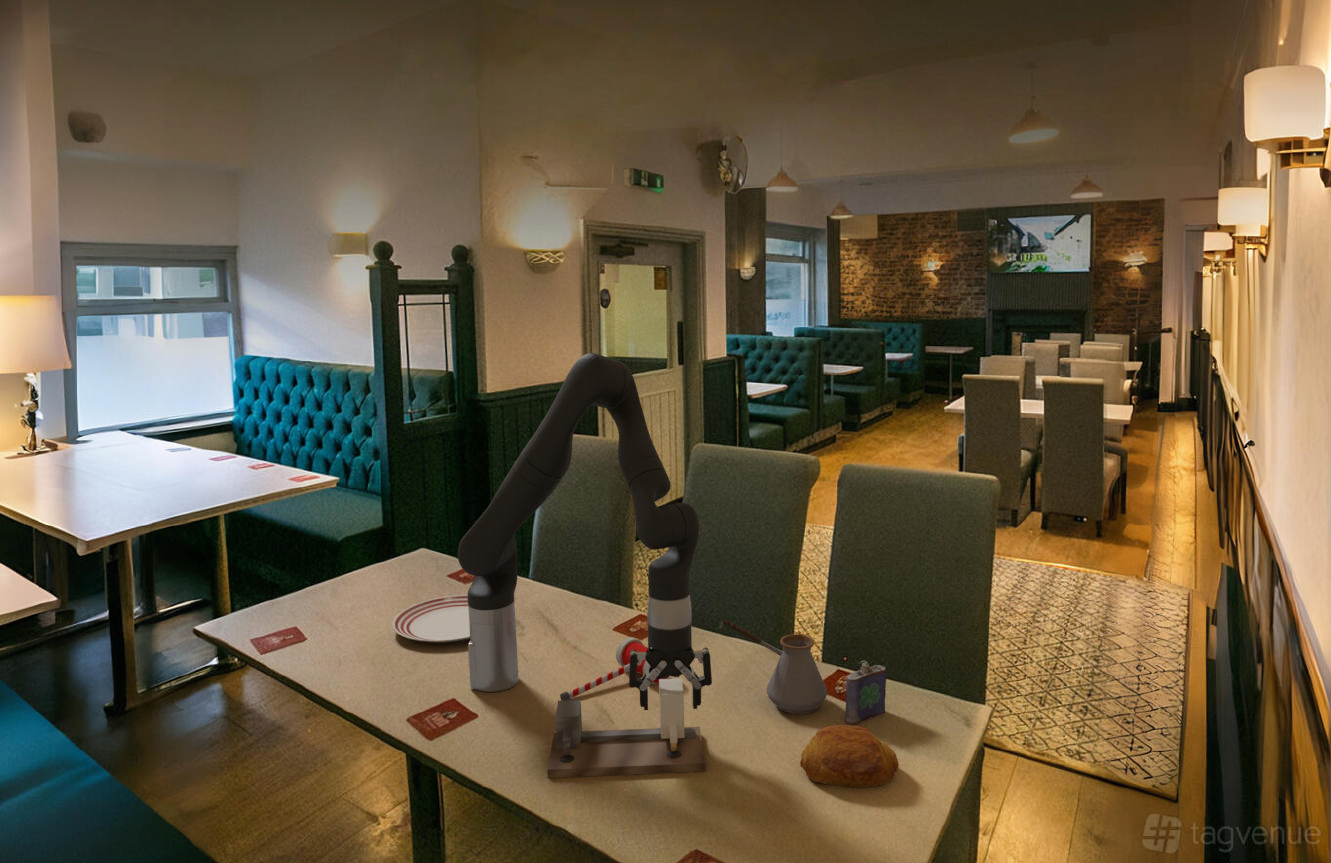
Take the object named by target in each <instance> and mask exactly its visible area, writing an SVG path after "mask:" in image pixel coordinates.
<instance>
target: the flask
mask: <svg viewBox="0 0 1331 863" xmlns="http://www.w3.org/2000/svg"><path fill="white" fill-rule="evenodd" d="M858 664H859V665H860V664H861V667H860V669H858V670H856V671H854V672H852V673H850V674H848V675H847V676H845V682H846V683H845V684H846V685H845V716H844V717H845V718H844V719H845V720H844V721H845V723H846V724H847V725H850V726H853V725H854V726H857V725H860V723H863V722H867V721H870V720H871V719H872V718H873V719H875V718H876V717H880V716H884V715H885V713H886V696H887V694H886V691H887V690H886V687H887V686H886V685H887V671H888V670H887V668H886V666H883V665H879V664H878V665H877V664H874V665H873V666H870V664H869V663H868V661H866V660H861V661H860V662H859V663H858Z"/></svg>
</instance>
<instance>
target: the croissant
mask: <svg viewBox="0 0 1331 863" xmlns="http://www.w3.org/2000/svg"><path fill="white" fill-rule="evenodd" d="M799 761H800V762H799V765H800V767H801V768H802V769H803V771H804V772H805V774H806V776H807V777H808V779H810V780H812V782H816V783H820V784H825V785H829V786H831V785H834V786H842V787H861V788H863V787H864V788H865V787H866V788H867V787H875V786H878V787H879V786H882V785H885V784H888V783H889V782H890V781H891V780H893V779H895V778H894V777H895V775H896V774H895V773H896V772H897V771H898V769H899V765H900V764H899V759H898V758H897V754H896V753H895V750H893V749H892V748H890V746H889V745H888V743H886V742H884V741H882V740H880V739H879V738H878V737H877V736H876V735H875V734H873V733H872V732H871V731H870V730H869V729H868V728H866V727H862V726H859V725H850V724H836V725H829V726H826V727H824V728H822V729H820V730H818V731H816V733H815V735H814V736H812V738H811V739H810V741H809V743H808V744H807V745H806V747H805V748H804V749H803V750H802V751H801V758H800V760H799Z"/></svg>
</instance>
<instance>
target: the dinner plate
mask: <svg viewBox="0 0 1331 863" xmlns="http://www.w3.org/2000/svg"><path fill="white" fill-rule="evenodd" d="M391 627H392V629H393V631H394V632H395V633H396V634H398V635H399V636H400V637H403V638H405V639H408V640H413V641H419V642H424V643H425V642H427V643H452V641H453V642H459V640H460V641H464V640H470V628H469V611H468V594H454V595H447V596H439V597H436V598H435V597H434V598H430V599H427V600H426V599H425V600H424V601H420V602H418V603H415V604H412V605H409V606H408V607H406V608H405V609H402V611H400V612H399V613H398V614H396V616H394V618H393V620H392V624H391Z"/></svg>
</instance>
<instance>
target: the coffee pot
mask: <svg viewBox="0 0 1331 863" xmlns="http://www.w3.org/2000/svg"><path fill="white" fill-rule="evenodd" d="M723 625H725V626H729V628H730V630H735V631H736V632H737V633H739V634H740V635H741V636H743V637H745V638H747V639H748V640H751V641H752V642H755V643H757V644H759V645H761V646H763V647H765V648H766V649H767V650H770V651H771V652H773V653H774V654H776V655H778V656H780V658H779V659H778V661H777V664H776V666H775V668H774V670H773V673H772V675H771V676H770V679H769V681H768V683H767V687H766V694H767V696H768V698H769V700H770V701H771V702H772V704H774V705H775V706H776V707H777V708H778V709H779V710H781V711H783V712H785V713H788V714H793V715H794V714H795V715H803V714H809V713H812V712H814V711H815V710H816V709H817V708H819V707H820V706H821V705H822V704H824V702H825V700H826V699H827V695H828V690H827V687H826V684H825V682H824V680H823V677H822V675H821V673H820V670H819V668H818V666H817V663H816V661H815V659H814V656H813V654H812V652H811V651H812V647H814V645H815V640H814V639H813V638H812V637H810V636H808V635H805V634H802V633H800V634H799V633H798V634H796V633H795V634H788V635H785V636H782V637H780V640H779V643H780V645H781V647H782V650H781V649H779V648H777V647H775V646H773V645H771V644H769V643H768V642H765V641H763V639H761V638H760V637H758V636H756V635H755V634H753V633H752V632H750V631H748V630H747V629H745V628H742V627H740V626H738V625H736V623H734V622H733V623H731V622H730V621H729V620H727V619H724V618H722V620H721V622H720V624H719V626H718V629H721V628H722V627H723Z"/></svg>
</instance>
